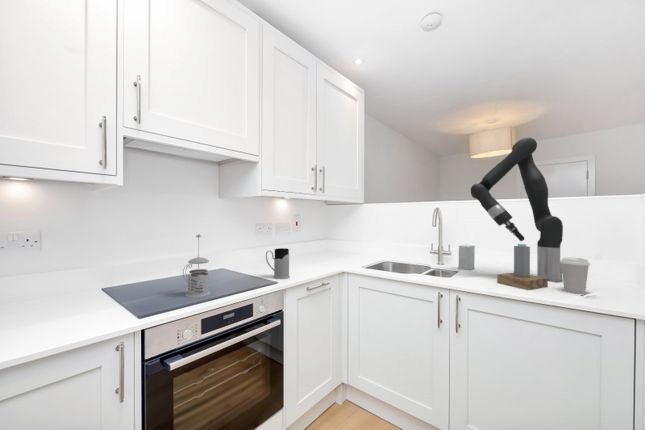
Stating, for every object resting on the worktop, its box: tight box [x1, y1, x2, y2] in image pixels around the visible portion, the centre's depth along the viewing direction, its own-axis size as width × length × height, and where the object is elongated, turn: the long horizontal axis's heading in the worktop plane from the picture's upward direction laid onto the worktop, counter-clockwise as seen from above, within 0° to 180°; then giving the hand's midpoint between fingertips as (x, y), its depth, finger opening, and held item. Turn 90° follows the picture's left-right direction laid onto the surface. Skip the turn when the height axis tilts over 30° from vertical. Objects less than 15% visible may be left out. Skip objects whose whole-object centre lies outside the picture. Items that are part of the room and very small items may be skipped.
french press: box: [182, 234, 212, 298], centre depth 116 cm, size 10×12×25 cm
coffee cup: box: [560, 256, 591, 297], centre depth 118 cm, size 10×10×15 cm
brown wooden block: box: [496, 271, 549, 291], centre depth 129 cm, size 14×14×5 cm
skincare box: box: [458, 244, 476, 271], centre depth 171 cm, size 8×6×15 cm
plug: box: [513, 243, 531, 278], centre depth 129 cm, size 4×4×19 cm
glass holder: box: [265, 247, 291, 280], centre depth 148 cm, size 9×14×15 cm, turn 68°
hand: (522, 239), depth 137 cm, fingers open, 8 cm apart
